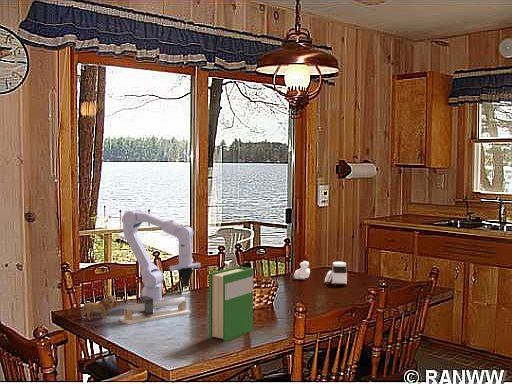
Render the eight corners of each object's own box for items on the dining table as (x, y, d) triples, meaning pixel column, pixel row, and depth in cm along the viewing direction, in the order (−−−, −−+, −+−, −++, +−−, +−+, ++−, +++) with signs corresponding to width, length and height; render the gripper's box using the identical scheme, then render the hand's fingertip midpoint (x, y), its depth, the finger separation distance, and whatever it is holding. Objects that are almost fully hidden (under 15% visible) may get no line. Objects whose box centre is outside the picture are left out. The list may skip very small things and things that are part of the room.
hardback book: (225, 341, 218) (225, 275, 217) (208, 338, 222) (209, 273, 221) (252, 330, 233) (253, 268, 231) (237, 327, 237) (237, 266, 235)
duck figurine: (296, 284, 329) (306, 269, 324) (287, 274, 333) (297, 259, 328) (309, 281, 338) (319, 267, 332) (301, 271, 342) (311, 257, 336)
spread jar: (347, 286, 313) (348, 264, 313) (325, 286, 313) (326, 264, 313) (344, 282, 325) (345, 260, 325) (323, 282, 325) (323, 260, 325)
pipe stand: (119, 320, 246) (119, 304, 245) (181, 309, 264) (181, 294, 263) (128, 324, 240) (128, 308, 239) (190, 313, 257) (190, 298, 257)
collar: (139, 312, 250) (139, 296, 250) (146, 311, 252) (146, 295, 252) (146, 315, 245) (146, 299, 245) (153, 314, 247) (152, 298, 247)
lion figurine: (112, 314, 255) (112, 293, 254) (116, 317, 250) (115, 296, 249) (76, 318, 248) (76, 297, 247) (79, 321, 243) (79, 299, 243)
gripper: (175, 257, 256) (175, 289, 257) (204, 253, 265) (204, 284, 266) (167, 255, 261) (167, 286, 262) (195, 252, 270) (195, 282, 271)
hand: (185, 285), depth 264 cm, fingers closed
